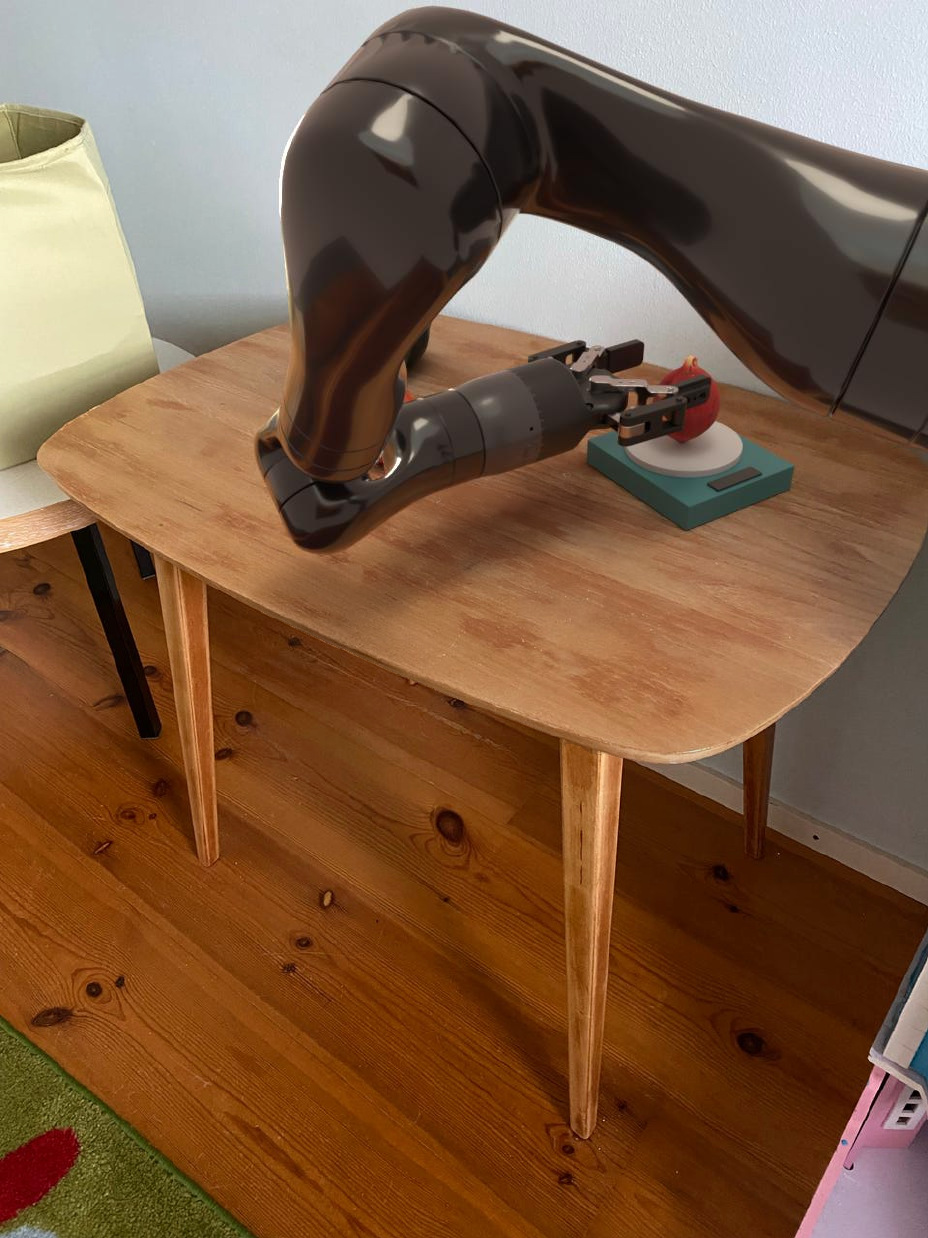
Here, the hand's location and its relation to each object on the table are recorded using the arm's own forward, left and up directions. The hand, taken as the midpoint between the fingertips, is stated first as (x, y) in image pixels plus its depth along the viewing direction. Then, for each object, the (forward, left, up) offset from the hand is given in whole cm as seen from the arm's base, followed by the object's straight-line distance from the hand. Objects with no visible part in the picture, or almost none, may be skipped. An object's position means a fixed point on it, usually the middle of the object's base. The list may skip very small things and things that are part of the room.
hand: (673, 368), depth 83 cm
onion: (0, -2, -8) cm, 8 cm away
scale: (-1, -2, -11) cm, 11 cm away
